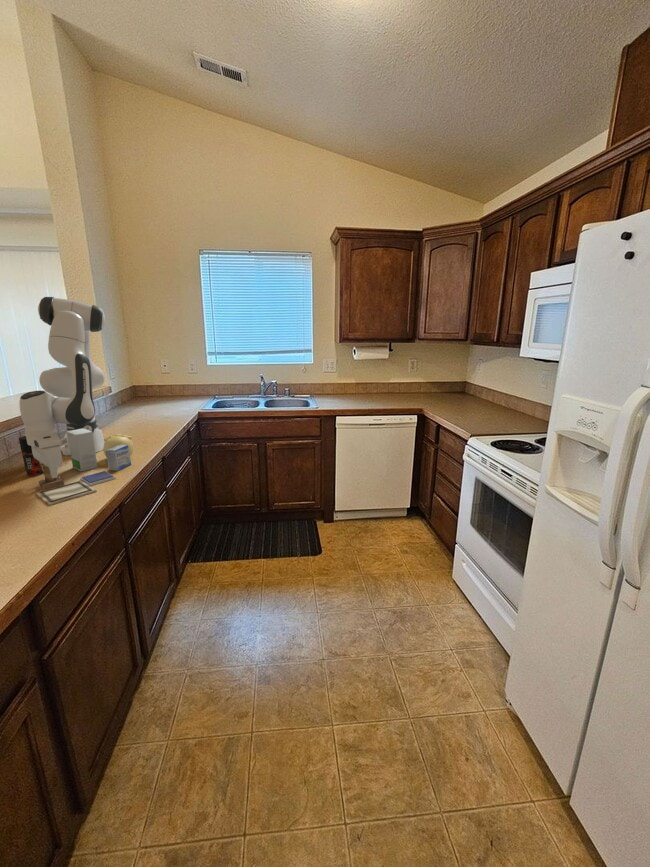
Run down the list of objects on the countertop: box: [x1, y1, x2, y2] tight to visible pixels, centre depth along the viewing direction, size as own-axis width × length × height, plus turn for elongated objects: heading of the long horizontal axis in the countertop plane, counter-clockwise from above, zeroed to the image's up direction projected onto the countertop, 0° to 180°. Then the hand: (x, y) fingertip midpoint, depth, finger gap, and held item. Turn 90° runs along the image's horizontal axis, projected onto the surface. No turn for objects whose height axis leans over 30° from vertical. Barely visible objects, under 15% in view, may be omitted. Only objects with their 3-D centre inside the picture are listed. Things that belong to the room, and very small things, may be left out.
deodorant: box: [18, 435, 44, 477], centre depth 149 cm, size 6×6×15 cm
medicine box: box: [105, 445, 132, 472], centre depth 156 cm, size 8×4×9 cm, turn 168°
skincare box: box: [66, 428, 98, 472], centre depth 155 cm, size 8×7×16 cm
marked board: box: [35, 480, 97, 507], centre depth 132 cm, size 14×14×1 cm
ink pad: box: [79, 470, 117, 487], centre depth 144 cm, size 9×9×1 cm
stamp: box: [38, 463, 65, 491], centre depth 138 cm, size 6×6×9 cm
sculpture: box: [103, 433, 134, 458], centre depth 166 cm, size 12×12×11 cm
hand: (50, 474), depth 138 cm, fingers open, 7 cm apart
